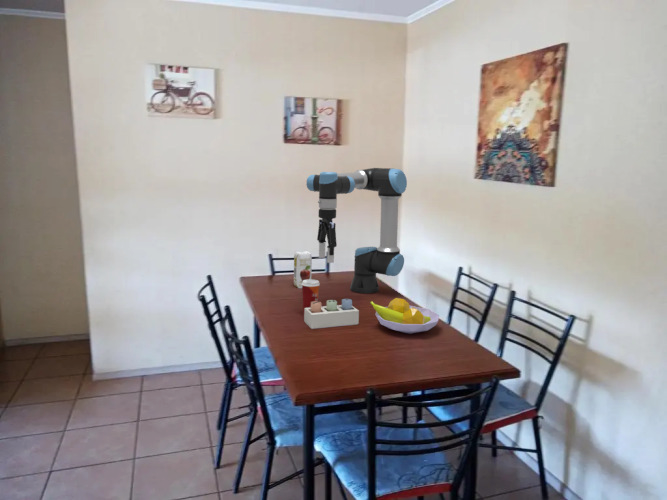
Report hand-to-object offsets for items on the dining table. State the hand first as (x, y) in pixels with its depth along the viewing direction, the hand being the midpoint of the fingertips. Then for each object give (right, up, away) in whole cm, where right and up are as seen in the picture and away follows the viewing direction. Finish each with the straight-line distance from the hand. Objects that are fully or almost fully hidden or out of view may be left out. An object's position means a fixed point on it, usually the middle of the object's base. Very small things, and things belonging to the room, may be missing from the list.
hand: (326, 259), depth 221 cm
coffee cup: (-7, -24, +10) cm, 27 cm away
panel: (+2, -27, -3) cm, 27 cm away
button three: (-4, -24, -6) cm, 25 cm away
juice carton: (-14, -16, +56) cm, 59 cm away
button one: (+9, -23, -1) cm, 25 cm away
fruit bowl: (+33, -29, -6) cm, 44 cm away
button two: (+2, -23, -3) cm, 24 cm away
